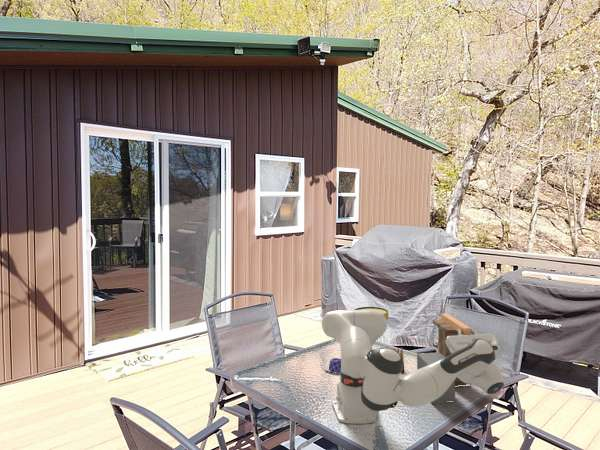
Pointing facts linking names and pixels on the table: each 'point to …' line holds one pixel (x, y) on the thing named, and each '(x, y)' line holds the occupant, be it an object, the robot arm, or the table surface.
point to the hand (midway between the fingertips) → (464, 328)
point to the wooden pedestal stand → (443, 332)
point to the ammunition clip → (401, 355)
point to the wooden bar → (455, 324)
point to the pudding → (335, 365)
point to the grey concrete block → (428, 359)
